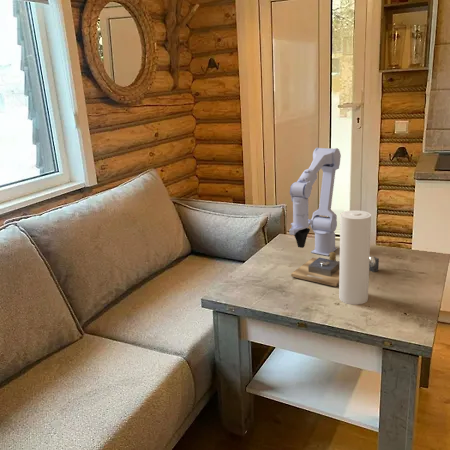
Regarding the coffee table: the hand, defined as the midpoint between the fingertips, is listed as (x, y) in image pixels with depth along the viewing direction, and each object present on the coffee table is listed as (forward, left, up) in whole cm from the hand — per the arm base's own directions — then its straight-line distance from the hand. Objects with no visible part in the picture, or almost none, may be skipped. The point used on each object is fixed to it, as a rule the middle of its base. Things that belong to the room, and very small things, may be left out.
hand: (301, 246), depth 176 cm
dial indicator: (-12, +25, -9) cm, 29 cm away
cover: (0, +10, -8) cm, 12 cm away
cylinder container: (+13, +27, -10) cm, 31 cm away
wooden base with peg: (0, +10, -9) cm, 13 cm away
